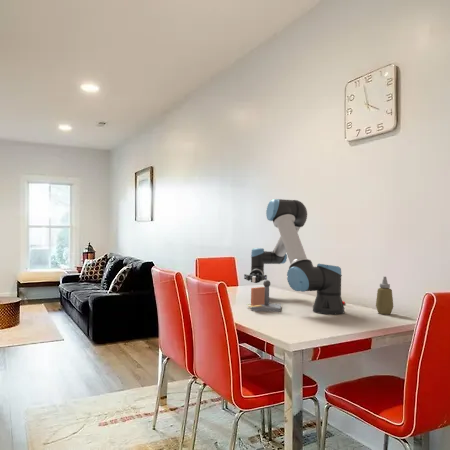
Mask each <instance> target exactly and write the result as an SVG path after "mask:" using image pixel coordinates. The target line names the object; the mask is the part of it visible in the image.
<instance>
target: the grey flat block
mask: <svg viewBox="0 0 450 450" xmlns="http://www.w3.org/2000/svg"><path fill="white" fill-rule="evenodd" d="M246 305H247V306H248V308H250V309H251V311H257V312H259V311H260V312H278V313H280V312H281V303H271V302H269V305H264V304H263V305H256V306H251V303H246Z"/></svg>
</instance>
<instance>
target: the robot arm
mask: <svg viewBox="0 0 450 450" xmlns="http://www.w3.org/2000/svg"><path fill="white" fill-rule="evenodd" d="M265 212H266V213H265V214H266V219H267V221H269V222H273V225H274V227H275V228H277V229H278V231H279V234H280V237H279V238H278V240H277V243H276V245H275V246H274V248H273V250H272V251H267V250H265V249H264V248H261V247H260V248H259V247H255V248H252V249H251V253H250V255H251V256H250V258H251V260H250V261H251V263H250V264H251V266H250V267H251V268H250V272H249V274H246V273H245V274H243V277H244V278H243V279H244V280H246V281H248V282H249V281H250V283H254V284H258V283H260V282H262V281H263V282H264V281H265V280H268V275H267V274H265V265H281V264H285V263H286V262H287V260H288V261H289V266H288V270H287V272H286V276H287V277H286V279H287V283H288V285H289V287H290V289H292V290H293V291H294V292H295V291H296V292H304V293H305V292H316V296H315V300H314V302H313V306H312V311H313V312H314V313H318V314H324V315H342V314H344V313H345V304H344V305H343V302H342V301H343V299H342V276H343V275H342V268H341V266H337V265H331V264H324V263H317V264H316V266H314V264H313V262H312V260H311V259H309V258H308V257H307V254H306V251H305V249H304V245H303V244H302V242H301V239H300V235H299V231H300V229H301V228H303V227H304V225H305V224H306V221H307V219H308V210H307V207H306V206H305V205H304V203H303V202H302V201H300V200H297V199H284V198H283V199H281V198H276V199H275V198H273V199H271V200H270V201H269V202H268V204H267V206H266V211H265ZM287 258H288V259H287Z"/></svg>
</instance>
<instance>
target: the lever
mask: <svg viewBox="0 0 450 450" xmlns="http://www.w3.org/2000/svg"><path fill="white" fill-rule="evenodd" d="M270 287H271V282H270V280H268V279H267V280H263V286H257V287H251V288H250V289H251V291H250V292H251V293H250V304H251V305H250V306H256V305H263V304H264V305H269V303H270Z"/></svg>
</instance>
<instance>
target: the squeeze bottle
mask: <svg viewBox="0 0 450 450" xmlns="http://www.w3.org/2000/svg"><path fill="white" fill-rule="evenodd" d="M376 292H377V293H376V299H375V300H376V301H375V308H376V310H377V311H376V312H377V313H378V314H380V315H391V314H392V312H393V309H394V297H393V290H392V288H391V284H389V283H388V279H387V276H383V279H382V282H381V283H379V288H377V291H376Z"/></svg>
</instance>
